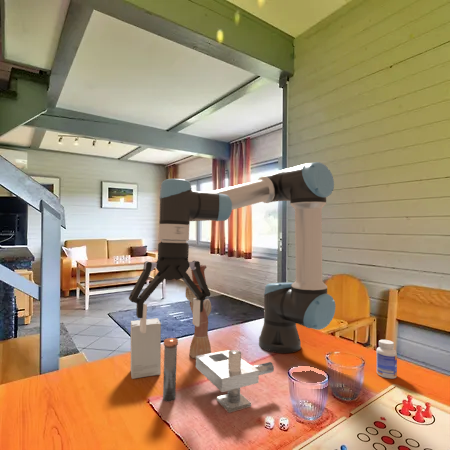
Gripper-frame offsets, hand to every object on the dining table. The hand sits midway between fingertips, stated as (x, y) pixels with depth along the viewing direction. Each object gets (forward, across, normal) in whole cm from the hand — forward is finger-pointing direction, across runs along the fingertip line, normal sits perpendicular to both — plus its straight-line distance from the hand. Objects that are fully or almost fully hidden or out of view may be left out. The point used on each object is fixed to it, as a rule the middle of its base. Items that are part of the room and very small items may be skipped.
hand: (170, 328), depth 76 cm
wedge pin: (+17, 0, 0) cm, 17 cm away
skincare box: (+17, -2, +16) cm, 24 cm away
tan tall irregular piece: (+17, +18, +22) cm, 33 cm away
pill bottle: (+17, +62, -16) cm, 66 cm away
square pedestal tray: (+17, +16, -5) cm, 24 cm away
